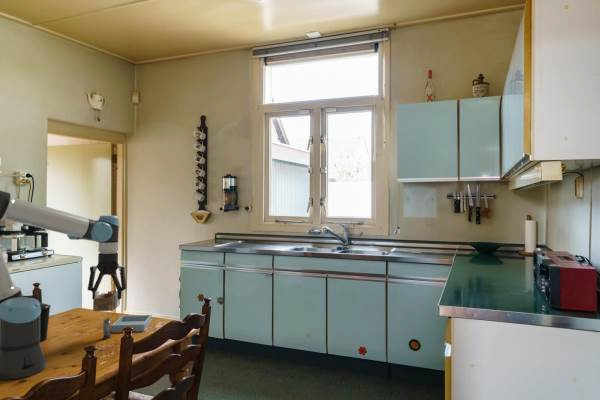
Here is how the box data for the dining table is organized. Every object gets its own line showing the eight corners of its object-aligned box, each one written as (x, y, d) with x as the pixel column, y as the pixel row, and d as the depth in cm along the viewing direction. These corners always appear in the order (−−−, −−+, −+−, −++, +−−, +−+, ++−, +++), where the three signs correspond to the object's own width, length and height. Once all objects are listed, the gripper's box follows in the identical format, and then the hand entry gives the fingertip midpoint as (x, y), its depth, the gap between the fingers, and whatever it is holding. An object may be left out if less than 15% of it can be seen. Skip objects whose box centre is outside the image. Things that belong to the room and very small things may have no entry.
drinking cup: (53, 340, 171) (53, 291, 171) (31, 344, 165) (31, 294, 165) (47, 336, 176) (47, 288, 176) (26, 340, 170) (26, 291, 170)
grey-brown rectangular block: (112, 310, 170) (112, 296, 170) (93, 311, 169) (93, 296, 169) (119, 304, 180) (120, 290, 180) (101, 305, 179) (101, 291, 179)
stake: (109, 339, 172) (109, 319, 172) (101, 339, 172) (102, 319, 172) (111, 336, 176) (111, 317, 176) (104, 336, 176) (104, 317, 176)
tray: (144, 331, 183) (144, 324, 183) (111, 332, 181) (111, 325, 181) (151, 321, 198) (151, 314, 198) (121, 322, 197) (121, 315, 197)
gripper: (135, 251, 180) (134, 304, 180) (85, 251, 177) (84, 305, 177) (131, 253, 173) (129, 309, 172) (79, 253, 170) (77, 309, 170)
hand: (106, 307), depth 175 cm, fingers closed on grey-brown rectangular block, 7 cm apart
